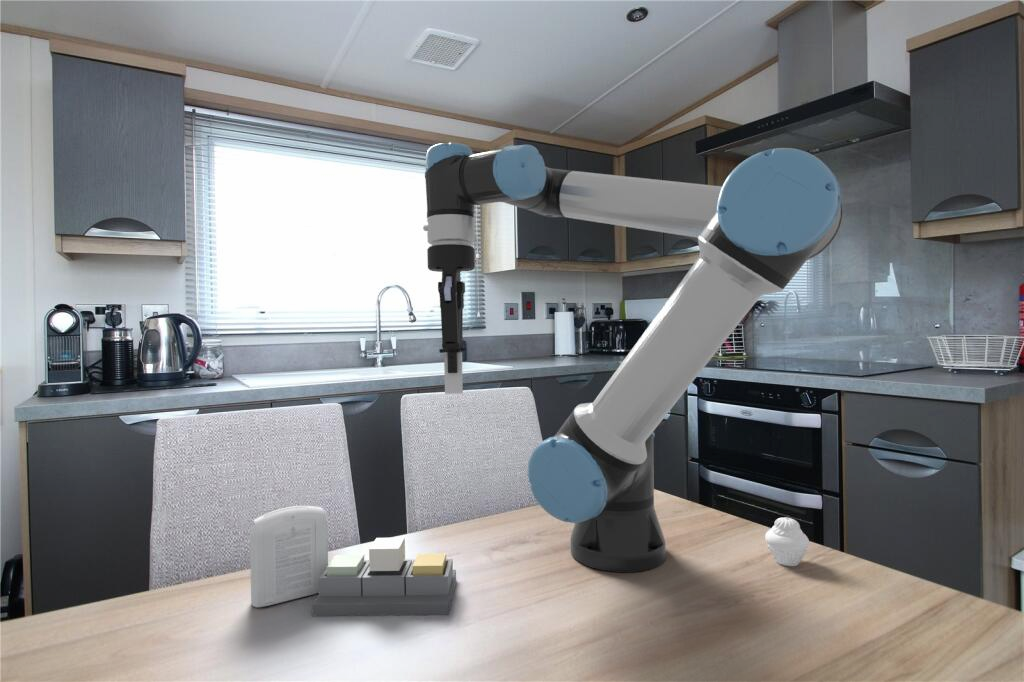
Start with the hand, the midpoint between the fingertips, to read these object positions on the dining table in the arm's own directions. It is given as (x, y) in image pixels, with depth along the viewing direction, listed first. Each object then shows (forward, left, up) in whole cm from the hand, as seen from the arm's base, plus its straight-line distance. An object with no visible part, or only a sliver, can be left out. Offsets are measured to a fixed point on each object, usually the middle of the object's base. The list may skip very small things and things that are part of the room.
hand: (453, 392), depth 92 cm
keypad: (+8, +14, -26) cm, 31 cm away
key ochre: (+2, +14, -24) cm, 28 cm away
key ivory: (+8, +14, -22) cm, 27 cm away
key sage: (+14, +14, -24) cm, 31 cm away
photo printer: (+22, +13, -27) cm, 37 cm away
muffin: (-51, +4, -27) cm, 58 cm away
